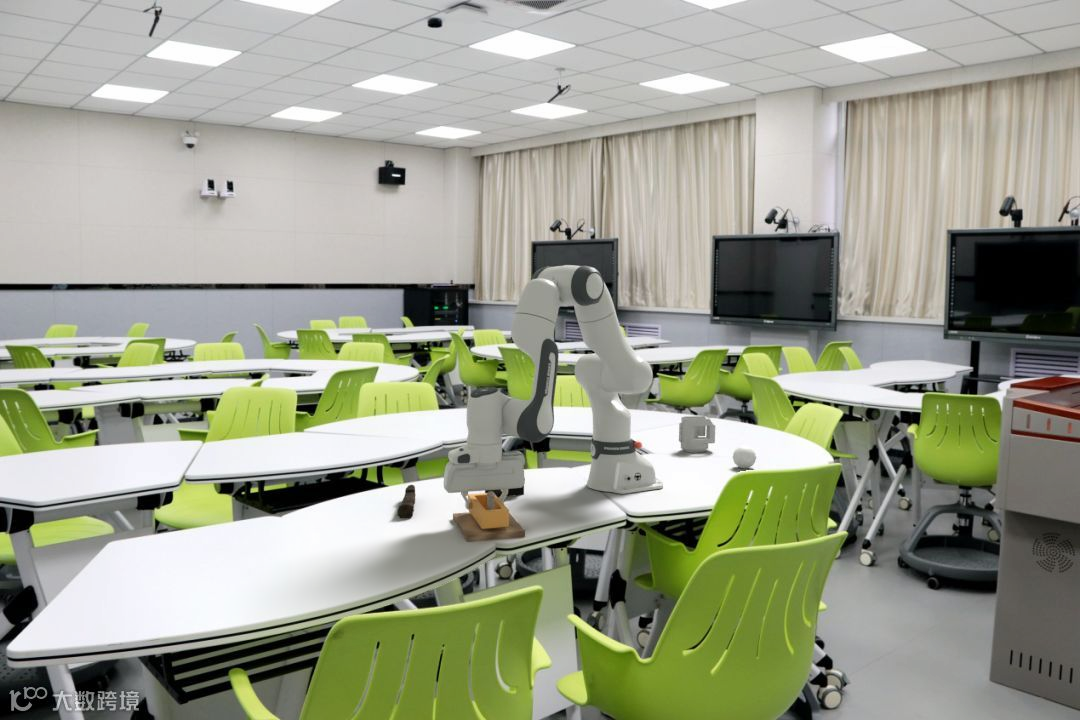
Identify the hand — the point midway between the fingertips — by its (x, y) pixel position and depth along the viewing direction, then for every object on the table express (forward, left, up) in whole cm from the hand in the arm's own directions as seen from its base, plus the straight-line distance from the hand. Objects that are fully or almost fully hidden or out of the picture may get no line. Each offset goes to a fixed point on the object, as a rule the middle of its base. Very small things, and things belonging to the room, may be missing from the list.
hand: (484, 507), depth 205 cm
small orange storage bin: (0, +4, -2) cm, 4 cm away
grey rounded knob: (-95, -36, -4) cm, 102 cm away
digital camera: (-11, -24, -4) cm, 27 cm away
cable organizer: (-92, -62, -4) cm, 111 cm away
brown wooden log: (+17, -18, -4) cm, 25 cm away
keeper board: (0, +4, -4) cm, 6 cm away
